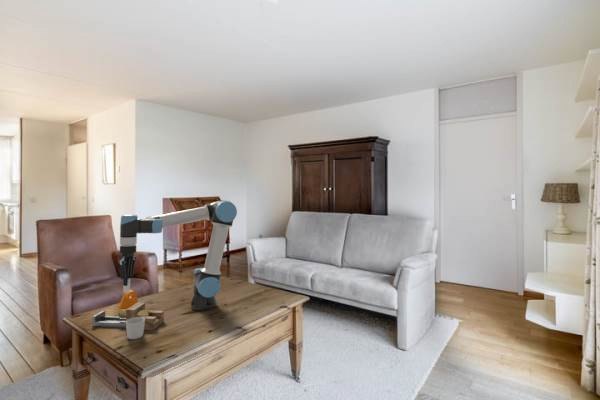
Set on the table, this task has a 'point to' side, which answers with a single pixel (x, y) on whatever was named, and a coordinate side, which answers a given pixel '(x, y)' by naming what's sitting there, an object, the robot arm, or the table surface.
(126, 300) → the bracket
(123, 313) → the axle
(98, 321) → the v block
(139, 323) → the cup
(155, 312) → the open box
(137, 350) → the table surface
